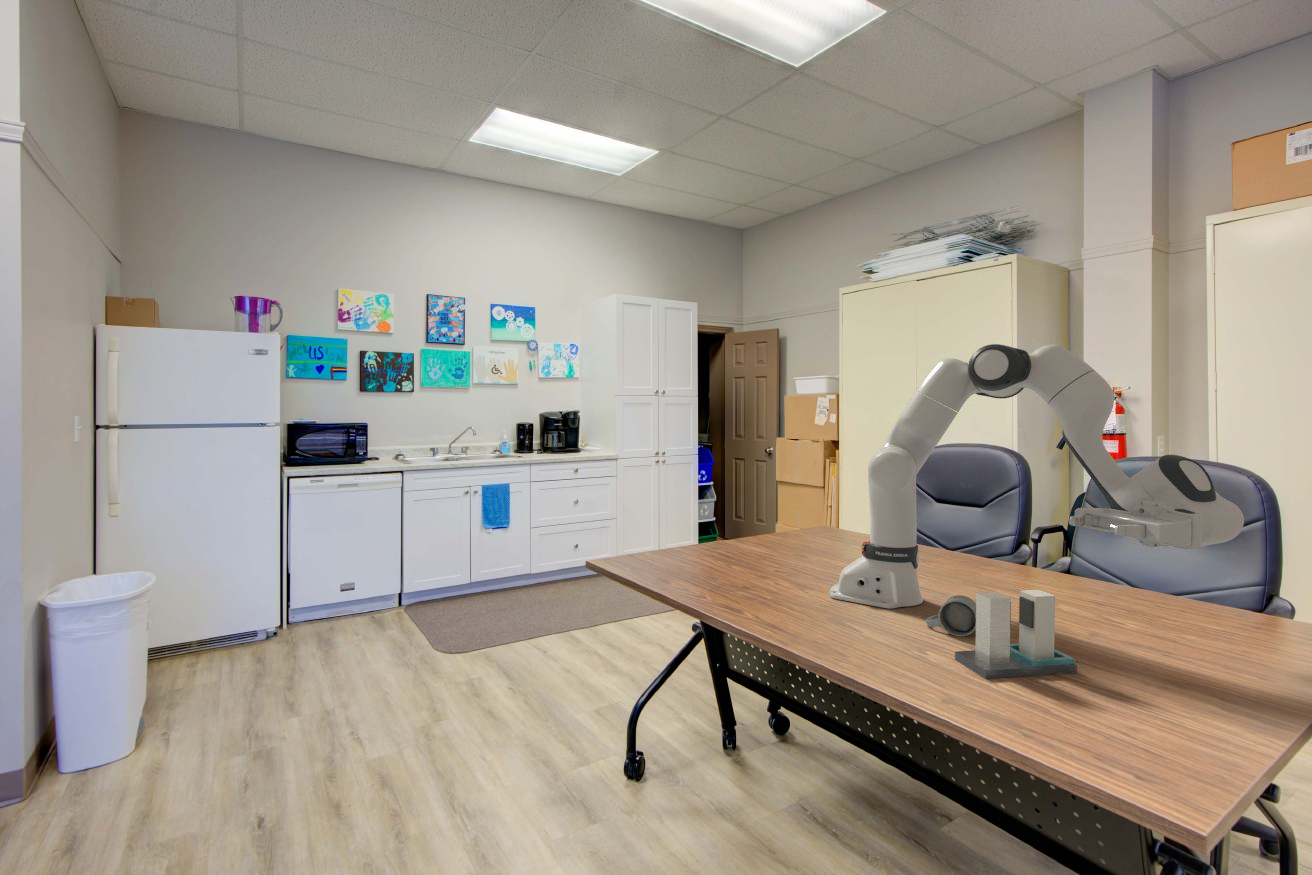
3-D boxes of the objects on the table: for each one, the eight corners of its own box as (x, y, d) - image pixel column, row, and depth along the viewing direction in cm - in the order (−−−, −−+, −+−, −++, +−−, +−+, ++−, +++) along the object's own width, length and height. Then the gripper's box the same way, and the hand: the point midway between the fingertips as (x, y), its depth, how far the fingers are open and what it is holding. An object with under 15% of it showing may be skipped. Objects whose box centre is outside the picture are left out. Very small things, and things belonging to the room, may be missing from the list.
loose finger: (1032, 661, 114) (1033, 596, 114) (1017, 653, 118) (1018, 590, 118) (1054, 659, 115) (1055, 595, 115) (1037, 651, 119) (1038, 589, 118)
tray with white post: (985, 678, 110) (986, 603, 110) (954, 659, 119) (955, 589, 119) (1077, 672, 113) (1078, 599, 112) (1040, 653, 122) (1041, 585, 121)
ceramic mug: (980, 628, 137) (980, 593, 136) (977, 639, 130) (977, 603, 129) (928, 620, 142) (928, 587, 142) (923, 631, 135) (922, 596, 135)
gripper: (1110, 500, 129) (1050, 501, 127) (1210, 515, 109) (1140, 517, 107) (1109, 530, 129) (1049, 532, 128) (1209, 551, 109) (1139, 553, 107)
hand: (1091, 525), depth 117 cm, fingers open, 8 cm apart
